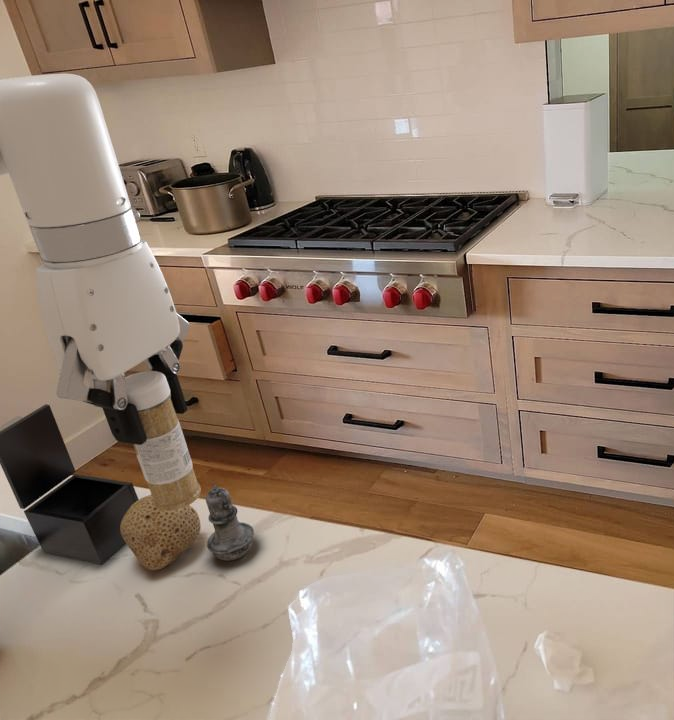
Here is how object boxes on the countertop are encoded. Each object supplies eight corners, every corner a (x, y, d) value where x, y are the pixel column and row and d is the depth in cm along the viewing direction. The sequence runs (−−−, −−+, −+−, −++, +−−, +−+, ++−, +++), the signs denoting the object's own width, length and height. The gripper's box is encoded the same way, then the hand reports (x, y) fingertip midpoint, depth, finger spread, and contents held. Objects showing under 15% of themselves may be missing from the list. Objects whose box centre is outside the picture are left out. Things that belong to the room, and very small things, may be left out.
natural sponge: (200, 527, 96) (180, 469, 92) (216, 562, 89) (195, 501, 85) (132, 555, 92) (107, 496, 88) (143, 594, 85) (117, 532, 81)
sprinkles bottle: (166, 485, 70) (126, 370, 64) (209, 483, 70) (173, 367, 64) (145, 515, 66) (101, 394, 60) (191, 512, 66) (151, 391, 60)
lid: (49, 404, 91) (22, 400, 93) (-8, 439, 84) (-37, 433, 85) (76, 471, 96) (49, 466, 98) (24, 509, 89) (-4, 503, 91)
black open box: (150, 529, 97) (132, 482, 93) (105, 571, 90) (83, 522, 86) (94, 519, 100) (75, 473, 96) (46, 558, 93) (23, 511, 89)
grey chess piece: (224, 581, 86) (198, 506, 81) (207, 558, 90) (181, 485, 85) (267, 557, 89) (245, 483, 84) (248, 536, 93) (226, 465, 88)
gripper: (130, 210, 64) (182, 380, 72) (-43, 270, 50) (46, 473, 58) (195, 211, 62) (241, 386, 70) (32, 274, 47) (114, 485, 56)
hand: (152, 424), depth 64 cm, fingers closed on sprinkles bottle, 4 cm apart
